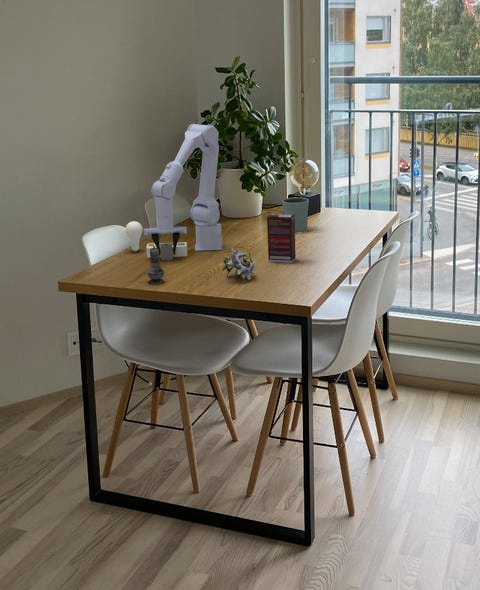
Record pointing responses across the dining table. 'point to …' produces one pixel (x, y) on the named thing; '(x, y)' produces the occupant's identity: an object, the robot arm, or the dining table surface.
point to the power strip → (180, 248)
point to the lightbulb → (134, 234)
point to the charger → (166, 251)
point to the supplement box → (281, 238)
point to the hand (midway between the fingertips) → (166, 254)
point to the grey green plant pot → (297, 211)
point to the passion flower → (240, 264)
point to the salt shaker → (155, 267)
